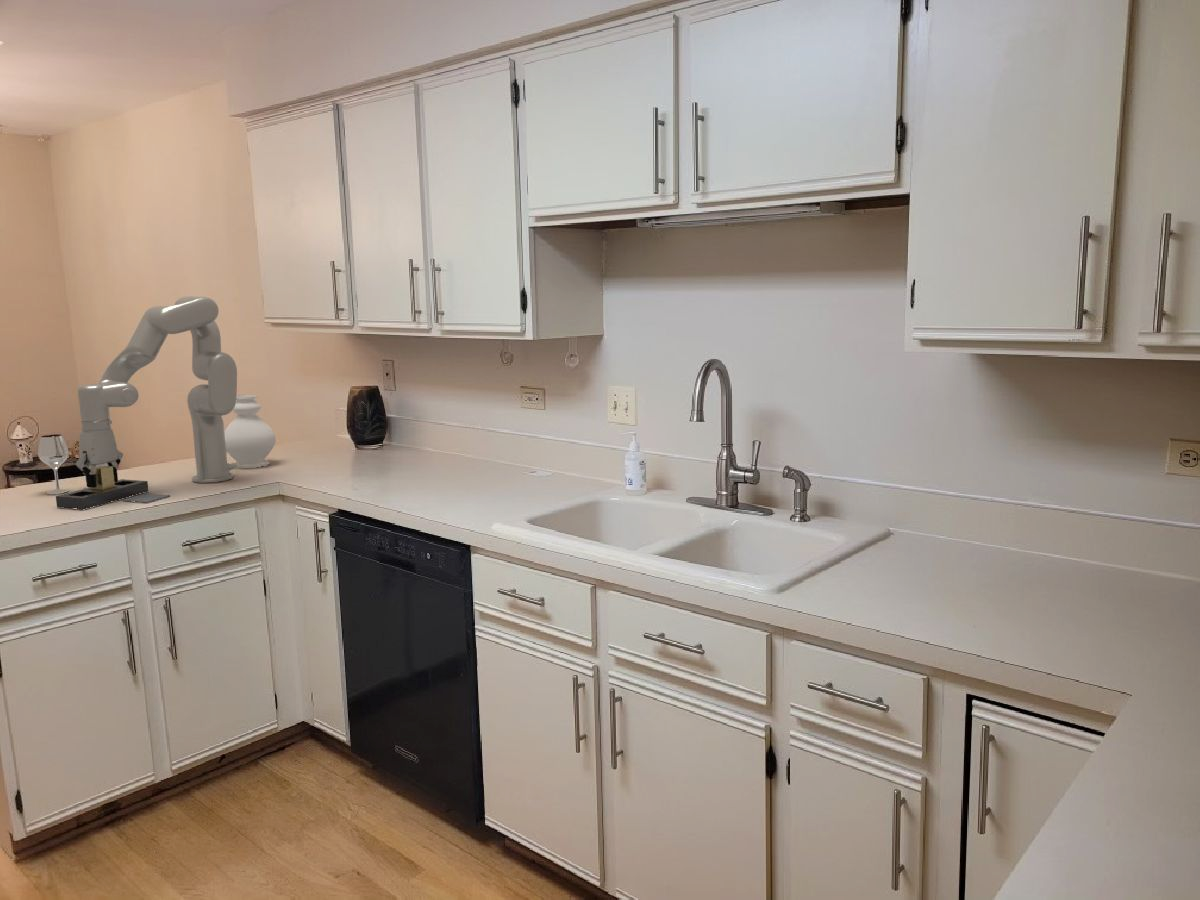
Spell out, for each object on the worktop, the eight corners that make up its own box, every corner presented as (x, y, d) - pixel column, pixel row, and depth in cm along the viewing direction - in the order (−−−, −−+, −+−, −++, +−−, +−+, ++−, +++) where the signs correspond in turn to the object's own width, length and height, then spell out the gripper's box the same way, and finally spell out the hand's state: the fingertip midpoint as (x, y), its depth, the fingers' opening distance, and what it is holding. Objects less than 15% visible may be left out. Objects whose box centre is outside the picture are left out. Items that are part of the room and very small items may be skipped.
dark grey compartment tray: (123, 490, 281) (122, 479, 280) (148, 491, 278) (147, 481, 277) (57, 507, 258) (55, 496, 258) (84, 510, 255) (82, 498, 255)
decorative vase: (255, 471, 308) (249, 399, 304) (213, 468, 314) (206, 398, 309) (287, 461, 325) (282, 394, 321) (247, 459, 331) (241, 392, 326)
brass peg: (104, 497, 271) (101, 465, 269) (116, 498, 270) (112, 466, 268) (92, 500, 267) (89, 468, 265) (104, 501, 265) (100, 469, 264)
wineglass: (46, 490, 281) (39, 434, 278) (75, 488, 284) (69, 433, 280) (40, 496, 273) (33, 438, 270) (70, 494, 276) (63, 436, 273)
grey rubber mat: (146, 494, 274) (146, 493, 274) (170, 496, 271) (169, 495, 271) (122, 501, 265) (122, 499, 265) (147, 503, 263) (147, 501, 263)
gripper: (110, 421, 273) (116, 478, 277) (61, 430, 257) (68, 490, 260) (129, 422, 271) (135, 479, 274) (81, 431, 255) (88, 491, 258)
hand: (102, 484), depth 267 cm, fingers open, 7 cm apart
